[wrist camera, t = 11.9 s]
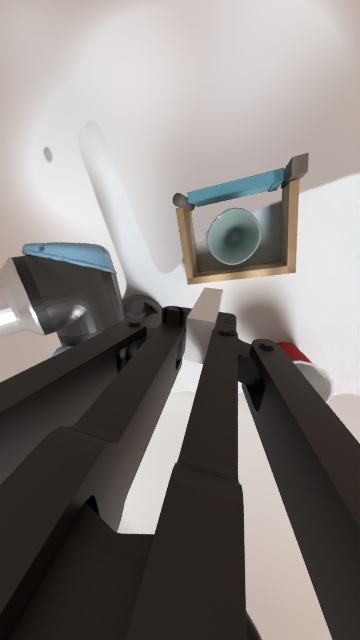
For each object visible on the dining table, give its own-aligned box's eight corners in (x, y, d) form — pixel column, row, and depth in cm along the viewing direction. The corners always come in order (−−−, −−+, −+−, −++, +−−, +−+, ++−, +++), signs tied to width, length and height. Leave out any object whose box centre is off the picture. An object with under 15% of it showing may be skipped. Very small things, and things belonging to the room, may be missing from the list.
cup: (207, 239, 39) (196, 241, 31) (235, 204, 36) (232, 194, 27) (235, 265, 40) (233, 275, 31) (266, 233, 36) (273, 233, 27)
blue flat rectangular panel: (197, 208, 37) (188, 203, 31) (197, 199, 37) (187, 192, 30) (276, 190, 33) (283, 180, 26) (276, 180, 32) (283, 167, 26)
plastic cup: (324, 343, 41) (352, 381, 30) (295, 379, 46) (310, 423, 35) (273, 323, 42) (282, 353, 32) (250, 360, 47) (252, 397, 37)
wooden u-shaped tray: (194, 278, 43) (184, 287, 36) (183, 200, 38) (168, 192, 30) (290, 266, 37) (302, 275, 30) (293, 171, 31) (308, 152, 24)
